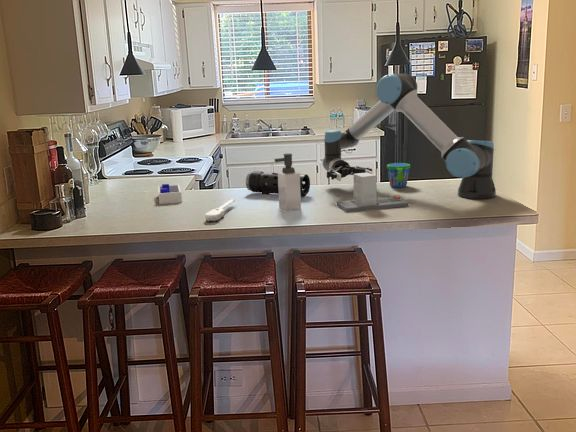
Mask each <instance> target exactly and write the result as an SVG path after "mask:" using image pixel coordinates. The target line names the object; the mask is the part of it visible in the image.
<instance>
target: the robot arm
mask: <svg viewBox="0 0 576 432" xmlns="http://www.w3.org/2000/svg"><path fill="white" fill-rule="evenodd" d="M375 92H376V96H377V99H378V101H377V102H376V103H375V104H374V105H373V106H372V107H371V108H369V109H368V110H367V111H366V112H365V113H364V114H363V115H362V116H360V117H359V118H358V119H357V120H356V121H355V122H354V123H352V124H351V125H350V126H349V127H348V128H347V129H346V130H345V131H344V132H342V131H341V130H340V129H329V130H326V131H325V132H324V158H323V160H322V167H323V169H325V171H326V178H327V179H330V180H337V181H339V182H341V181H342V178H345V177H347V176H349V175H350V176H354V174H357V173H370V174H373V168H369V167H362V166H359V165H356V166H351V165H350V164H349V163H348V161H345V160H344V159H342V150H344V149H349V148H354V147H355V146H357V145H358V144H359V143H360V140H361V139H362V138H363V137H365V136H366V135H367V134H368V133H370V131H371V130H373V129H374V128H376V126H378V125H379V124H380V123H381V122H383V120H384V119H386V118H387V117H389V115H390V114H392V113H393V112H394V111H395V112H397V113H399V112H401V113H402V114H404V115H405V116H406V118H407V119H408V120H410V121H411V123H413V125H414V126H415V127H416V128H417V129H418V130H419V131H420V132H421V133H422V134H423V135H424V136H425V137H426V138H427V139H428V140H429V141H430V142H431V143H432V144H433V145H434V147H435V148H437V149H438V150H439V151H440V152H441V153H440V154H441V159H442V161H444V162H445V166H446V169H447V171H448V172H449V173H450V174H451V175H452V176H453V177H456V178H461V181H460V183H459V186H458V189H457V196H459V197H460V198H465V199H472V200H473V199H474V200H485V199H492V198H495V197H496V196H497V195H496V194H497V189H496V187H495V183H494V179H493V168H494V167H493V166H494V151H495V148H494V147H495V146H494V142H493V141H490V140H473V139H472V140H470V139H466V138H465V137H464V136H461V137H459V136H458V135H457V134H455V132H454V131H452V130H451V128H449V127H448V126H447V124H446V123H444V122H443V120H441V119H440V118H439V116H438V115H436V113H434V111H433V110H432V109H431V108H430V107H428V105H426V104H425V103H424V102H423V101H422V100H421V99H420V97H418V82H417V80H416V78H415V77H414V76H412V75H411V74H409V73H404V72H403V73H389V74H386V75H384V76H383V77H380V79H379V81H378V82H377V84H376V91H375Z"/></svg>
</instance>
